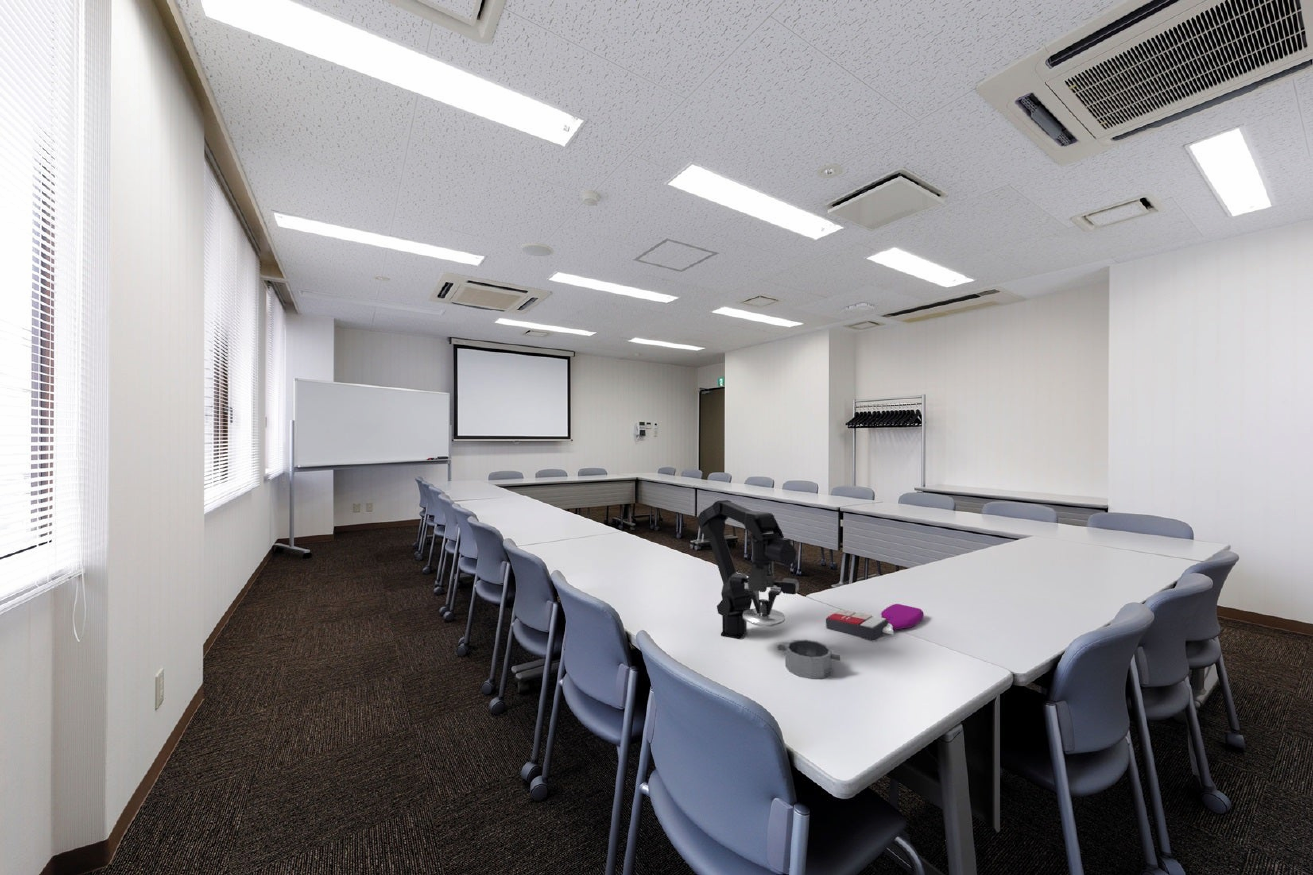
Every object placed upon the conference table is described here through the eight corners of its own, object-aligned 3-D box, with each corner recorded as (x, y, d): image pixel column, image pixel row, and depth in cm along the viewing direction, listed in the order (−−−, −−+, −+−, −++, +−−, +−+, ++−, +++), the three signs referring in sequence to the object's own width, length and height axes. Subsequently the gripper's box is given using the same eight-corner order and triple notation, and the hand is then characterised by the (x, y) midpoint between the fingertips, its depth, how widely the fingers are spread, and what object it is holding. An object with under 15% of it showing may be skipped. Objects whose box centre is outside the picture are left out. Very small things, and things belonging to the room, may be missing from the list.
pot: (774, 671, 122) (774, 651, 122) (782, 654, 132) (782, 635, 132) (838, 684, 115) (837, 663, 115) (842, 664, 125) (841, 645, 125)
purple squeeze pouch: (926, 618, 157) (899, 640, 140) (892, 610, 165) (861, 630, 148) (926, 609, 157) (899, 630, 140) (891, 602, 165) (861, 620, 148)
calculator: (840, 607, 158) (888, 616, 147) (841, 621, 158) (889, 631, 147) (824, 616, 150) (873, 626, 140) (825, 630, 150) (874, 641, 139)
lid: (737, 625, 132) (737, 604, 132) (748, 612, 142) (748, 592, 142) (780, 631, 127) (780, 609, 127) (788, 617, 137) (788, 597, 137)
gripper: (721, 561, 132) (722, 618, 131) (791, 567, 124) (792, 628, 123) (733, 553, 142) (734, 606, 142) (798, 558, 134) (799, 615, 133)
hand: (763, 613), depth 135 cm, fingers closed on lid, 3 cm apart
